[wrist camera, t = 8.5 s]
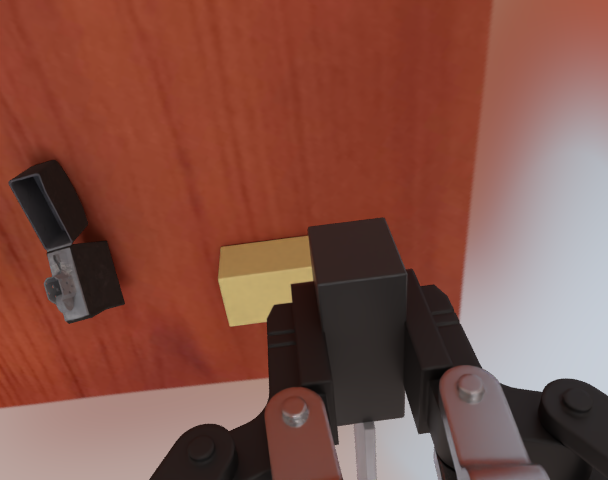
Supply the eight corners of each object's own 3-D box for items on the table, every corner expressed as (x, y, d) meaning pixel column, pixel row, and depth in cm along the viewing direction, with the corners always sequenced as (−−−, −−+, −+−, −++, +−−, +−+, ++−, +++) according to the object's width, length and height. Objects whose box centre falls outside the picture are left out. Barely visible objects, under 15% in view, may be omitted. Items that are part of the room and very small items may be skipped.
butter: (317, 233, 30) (323, 265, 27) (322, 280, 32) (328, 314, 29) (220, 246, 30) (217, 279, 27) (231, 292, 32) (229, 327, 29)
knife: (307, 225, 13) (317, 291, 11) (385, 216, 13) (410, 279, 11) (338, 514, 21) (348, 585, 19) (387, 507, 21) (402, 577, 19)
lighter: (52, 175, 29) (-11, 166, 24) (85, 164, 29) (29, 154, 24) (92, 313, 29) (38, 334, 24) (126, 303, 29) (79, 323, 24)
